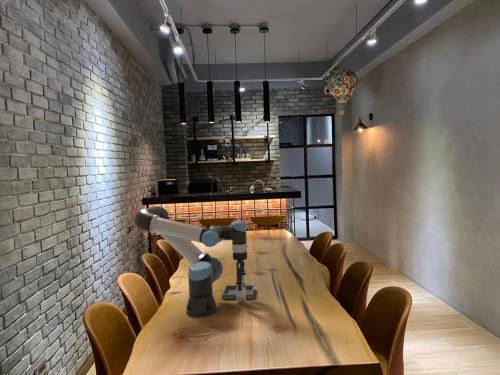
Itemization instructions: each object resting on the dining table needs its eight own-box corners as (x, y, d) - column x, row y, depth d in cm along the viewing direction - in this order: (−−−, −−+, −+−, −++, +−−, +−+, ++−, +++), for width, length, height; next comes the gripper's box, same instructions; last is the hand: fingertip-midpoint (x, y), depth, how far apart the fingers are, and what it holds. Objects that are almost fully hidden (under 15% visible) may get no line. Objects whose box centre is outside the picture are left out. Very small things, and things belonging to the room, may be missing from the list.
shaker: (235, 305, 191) (235, 285, 190) (236, 301, 196) (236, 282, 195) (245, 305, 190) (245, 285, 190) (246, 301, 196) (245, 282, 195)
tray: (222, 299, 199) (221, 294, 199) (225, 289, 215) (225, 285, 215) (252, 299, 198) (252, 294, 198) (254, 289, 214) (254, 285, 214)
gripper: (245, 257, 179) (247, 300, 180) (248, 246, 204) (250, 284, 205) (229, 257, 179) (231, 300, 180) (235, 246, 204) (236, 284, 205)
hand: (241, 291), depth 193 cm, fingers open, 13 cm apart
